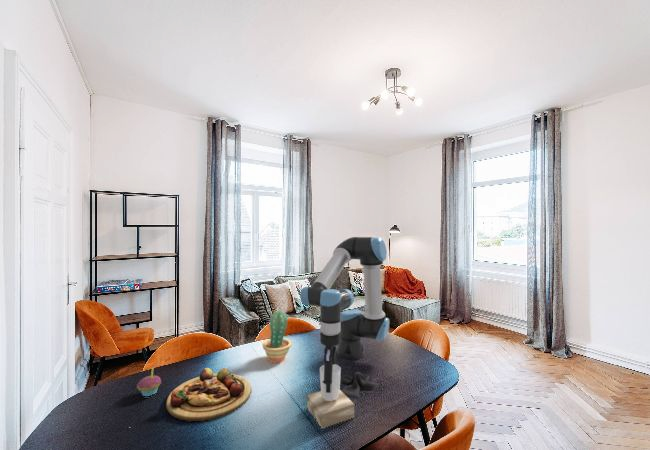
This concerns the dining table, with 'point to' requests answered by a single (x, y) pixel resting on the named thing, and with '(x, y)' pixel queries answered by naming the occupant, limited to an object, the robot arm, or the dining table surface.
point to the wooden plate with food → (208, 396)
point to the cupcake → (149, 384)
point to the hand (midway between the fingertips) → (330, 393)
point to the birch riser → (330, 409)
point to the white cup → (335, 379)
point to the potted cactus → (277, 338)
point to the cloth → (357, 384)
